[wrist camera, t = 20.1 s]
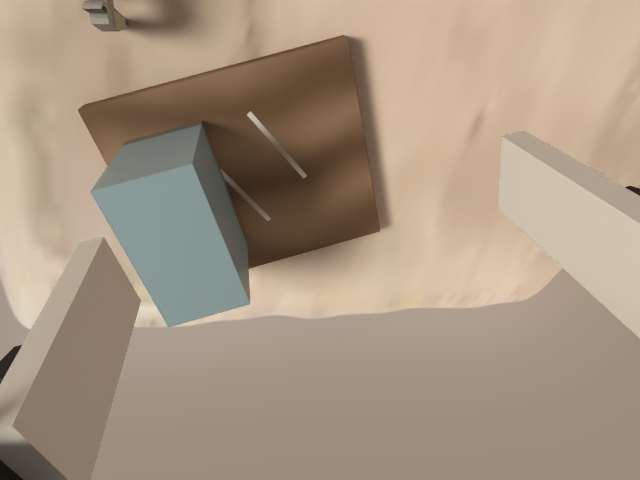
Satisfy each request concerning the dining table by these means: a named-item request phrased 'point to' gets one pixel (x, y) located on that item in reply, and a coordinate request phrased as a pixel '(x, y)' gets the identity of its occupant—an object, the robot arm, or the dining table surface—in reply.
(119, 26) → the caliper
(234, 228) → the block
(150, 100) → the board
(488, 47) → the dining table surface
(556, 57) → the dining table surface
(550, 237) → the robot arm
